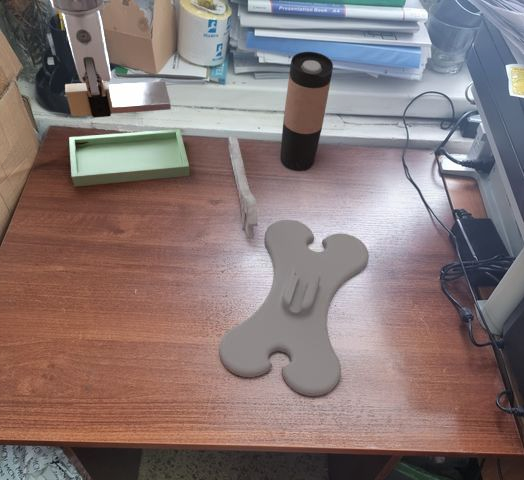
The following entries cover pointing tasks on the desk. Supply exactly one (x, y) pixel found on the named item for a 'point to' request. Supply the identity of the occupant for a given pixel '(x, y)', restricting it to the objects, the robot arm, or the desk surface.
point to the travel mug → (305, 109)
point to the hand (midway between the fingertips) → (101, 109)
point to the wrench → (243, 189)
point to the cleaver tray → (128, 157)
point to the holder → (296, 309)
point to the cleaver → (121, 97)
